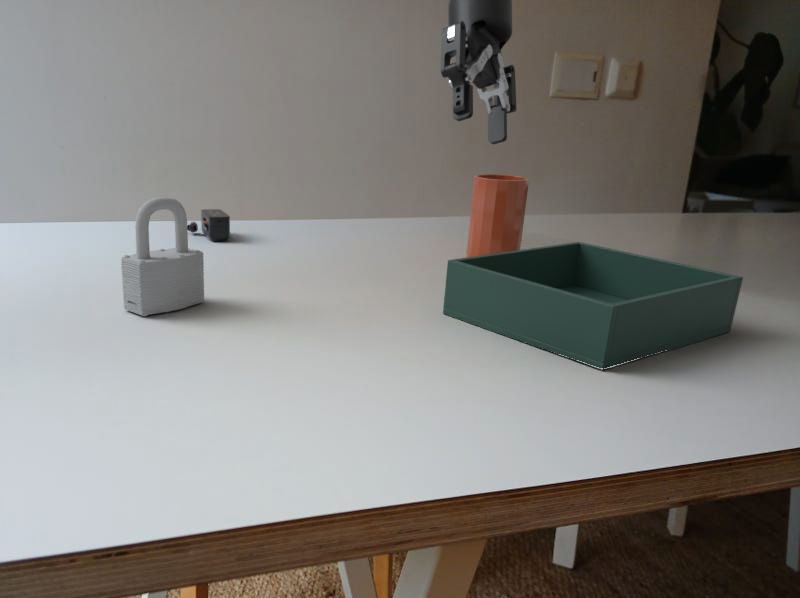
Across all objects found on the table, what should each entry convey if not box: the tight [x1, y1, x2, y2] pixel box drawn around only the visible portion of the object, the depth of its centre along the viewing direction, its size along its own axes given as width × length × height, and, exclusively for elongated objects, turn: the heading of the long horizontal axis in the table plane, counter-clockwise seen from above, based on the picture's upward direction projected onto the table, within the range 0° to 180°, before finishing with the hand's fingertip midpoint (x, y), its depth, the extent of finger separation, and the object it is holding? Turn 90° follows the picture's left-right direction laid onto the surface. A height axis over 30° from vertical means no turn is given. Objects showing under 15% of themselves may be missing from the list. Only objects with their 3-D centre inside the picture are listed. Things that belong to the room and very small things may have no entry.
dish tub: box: [442, 241, 744, 369], centre depth 67 cm, size 19×17×5 cm
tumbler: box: [465, 173, 530, 258], centre depth 91 cm, size 6×6×10 cm
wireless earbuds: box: [187, 208, 231, 242], centre depth 99 cm, size 5×7×3 cm, turn 19°
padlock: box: [120, 196, 205, 317], centre depth 66 cm, size 7×4×10 cm, turn 138°
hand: (481, 131), depth 88 cm, fingers open, 8 cm apart
